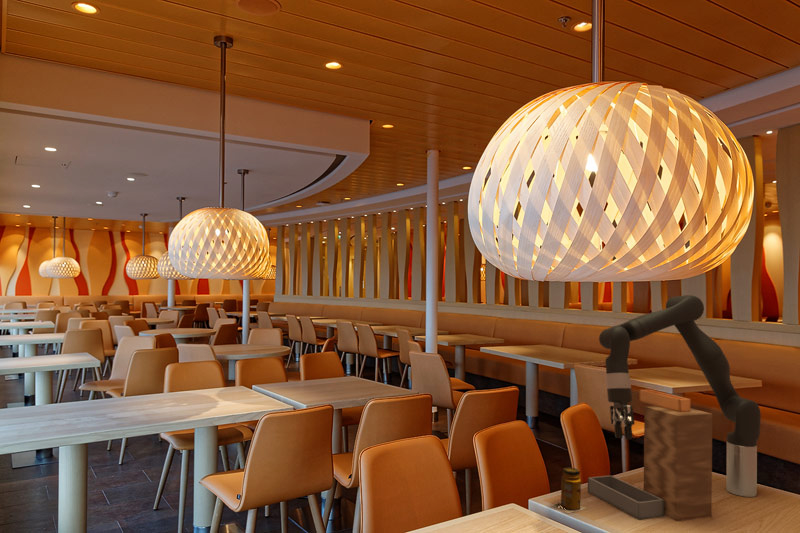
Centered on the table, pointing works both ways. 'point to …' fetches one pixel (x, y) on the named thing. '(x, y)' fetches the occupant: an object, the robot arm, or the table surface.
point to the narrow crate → (665, 400)
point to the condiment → (570, 491)
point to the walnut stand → (679, 461)
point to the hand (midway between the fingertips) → (623, 438)
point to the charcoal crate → (626, 497)
